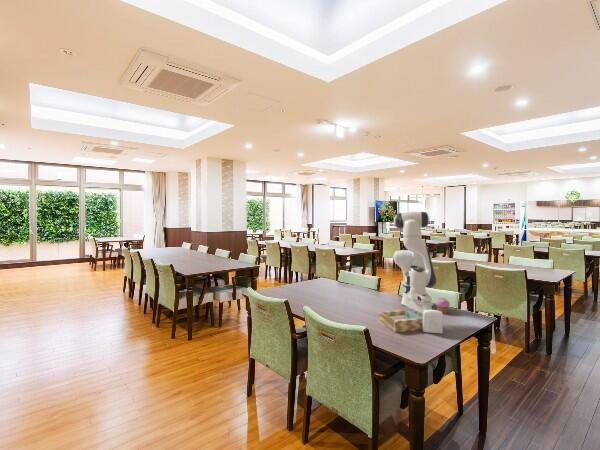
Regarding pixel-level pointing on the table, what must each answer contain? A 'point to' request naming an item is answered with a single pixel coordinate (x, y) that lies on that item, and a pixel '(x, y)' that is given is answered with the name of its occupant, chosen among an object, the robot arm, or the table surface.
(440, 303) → the cupcake
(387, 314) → the woven basket
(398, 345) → the table surface
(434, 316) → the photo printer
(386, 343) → the table surface
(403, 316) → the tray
